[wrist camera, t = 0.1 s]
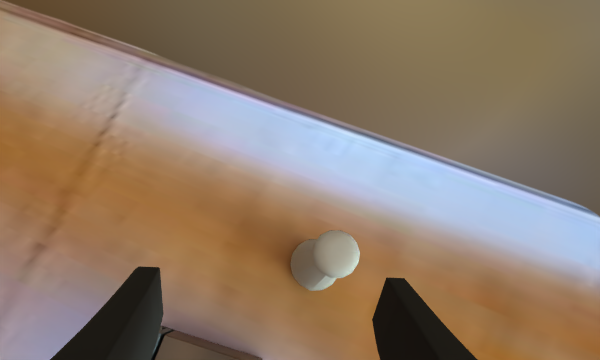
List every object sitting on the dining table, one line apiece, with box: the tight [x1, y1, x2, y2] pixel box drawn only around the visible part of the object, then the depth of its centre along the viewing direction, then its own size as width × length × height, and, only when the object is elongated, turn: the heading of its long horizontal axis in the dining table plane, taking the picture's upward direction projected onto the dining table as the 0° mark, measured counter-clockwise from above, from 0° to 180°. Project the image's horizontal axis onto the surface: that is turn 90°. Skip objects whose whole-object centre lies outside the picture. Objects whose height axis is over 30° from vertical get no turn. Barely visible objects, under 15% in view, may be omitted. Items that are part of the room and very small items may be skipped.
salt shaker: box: [290, 231, 360, 290], centre depth 38 cm, size 6×6×13 cm
